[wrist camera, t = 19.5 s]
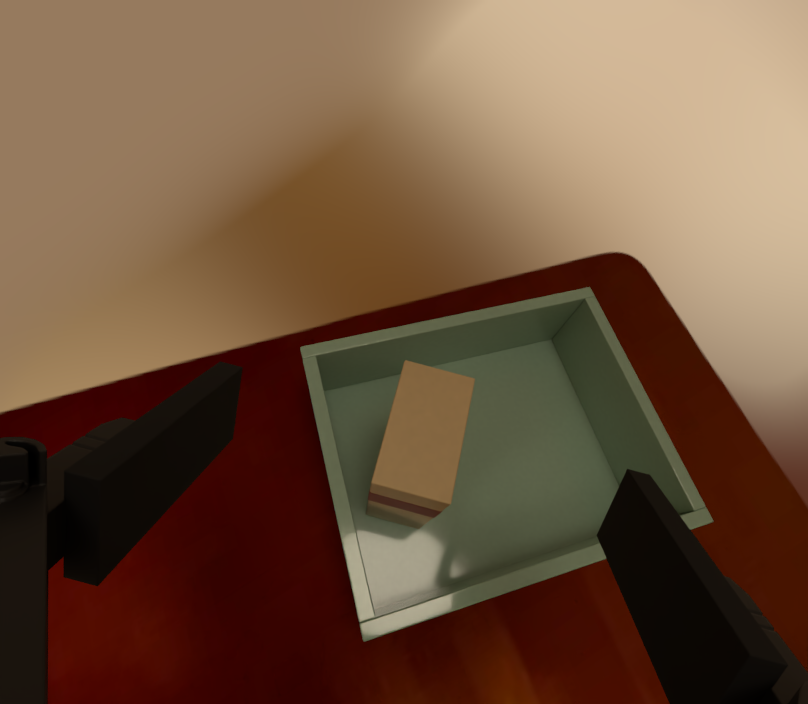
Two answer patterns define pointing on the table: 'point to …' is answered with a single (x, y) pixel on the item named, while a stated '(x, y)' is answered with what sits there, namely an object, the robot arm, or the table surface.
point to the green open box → (491, 453)
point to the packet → (420, 446)
